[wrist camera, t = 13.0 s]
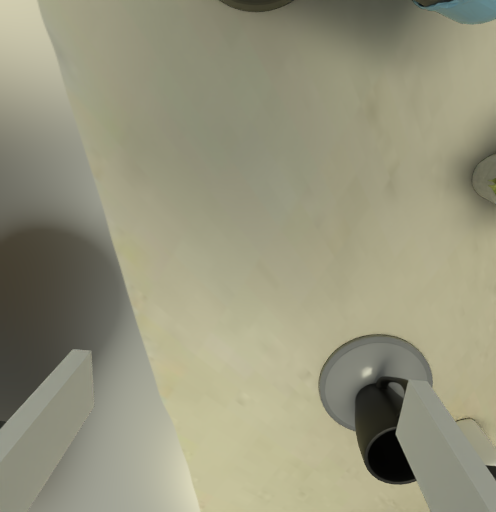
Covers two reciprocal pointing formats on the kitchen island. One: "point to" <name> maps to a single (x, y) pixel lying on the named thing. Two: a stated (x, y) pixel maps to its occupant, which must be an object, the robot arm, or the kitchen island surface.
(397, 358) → the round gray plate
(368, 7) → the kitchen island surface
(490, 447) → the eye dropper bottle
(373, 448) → the mug
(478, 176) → the house plant
